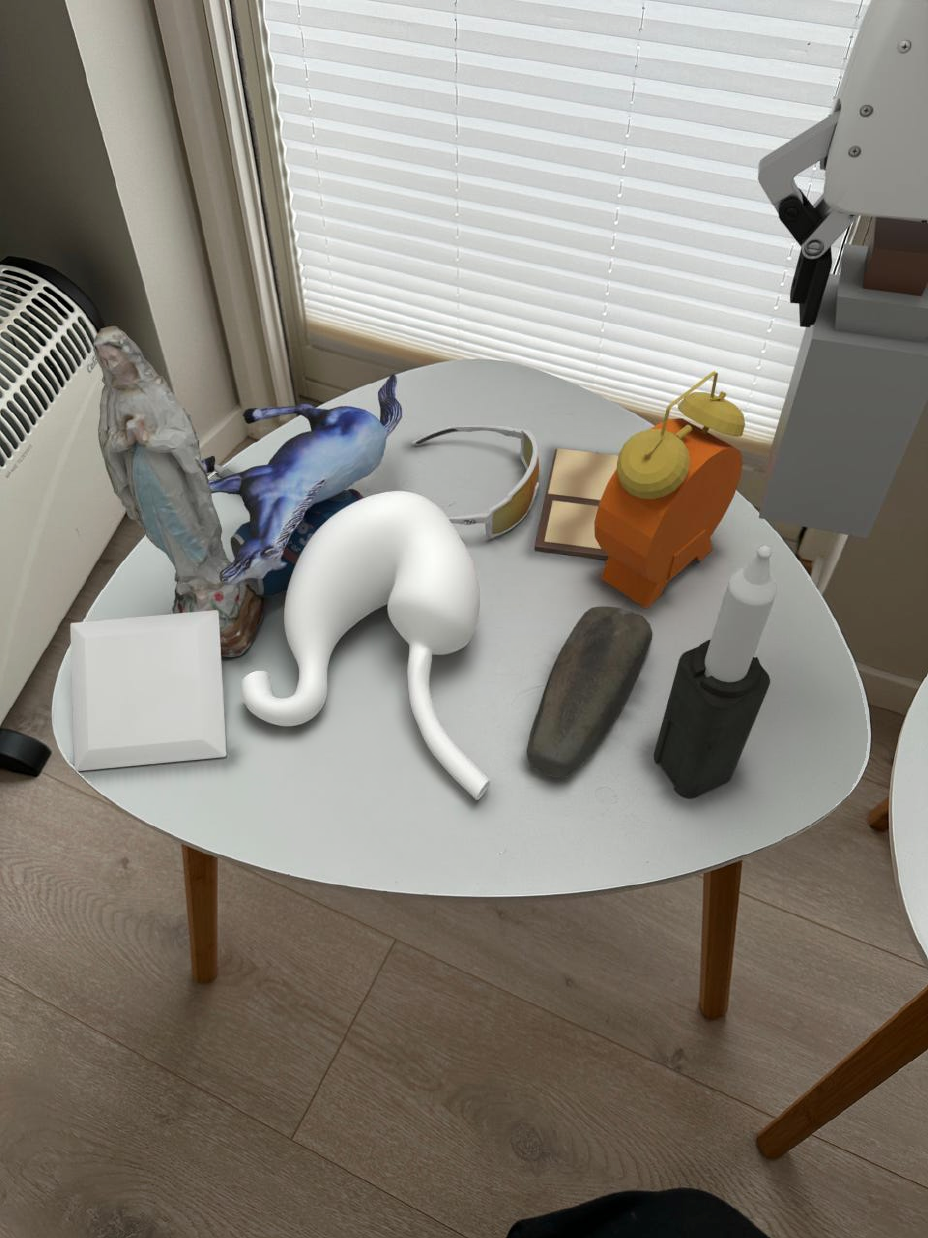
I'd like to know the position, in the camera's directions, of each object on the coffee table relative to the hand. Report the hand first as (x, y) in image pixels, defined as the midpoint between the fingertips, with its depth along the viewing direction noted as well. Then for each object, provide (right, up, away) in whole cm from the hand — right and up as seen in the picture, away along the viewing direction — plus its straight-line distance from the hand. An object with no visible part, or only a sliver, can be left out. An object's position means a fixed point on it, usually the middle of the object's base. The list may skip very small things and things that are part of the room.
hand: (878, 317), depth 52 cm
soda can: (-43, -12, +31) cm, 54 cm away
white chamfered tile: (-48, -22, +23) cm, 58 cm away
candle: (-5, -28, +22) cm, 36 cm away
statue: (-45, -17, +32) cm, 58 cm away
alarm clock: (-5, -12, +36) cm, 38 cm away
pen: (-43, -4, +42) cm, 60 cm away
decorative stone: (-13, -24, +26) cm, 38 cm away
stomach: (-28, -20, +29) cm, 45 cm away
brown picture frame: (-11, -5, +41) cm, 43 cm away
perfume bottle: (0, -9, +10) cm, 13 cm away
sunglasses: (-23, -4, +42) cm, 48 cm away
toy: (-42, -1, +35) cm, 55 cm away
